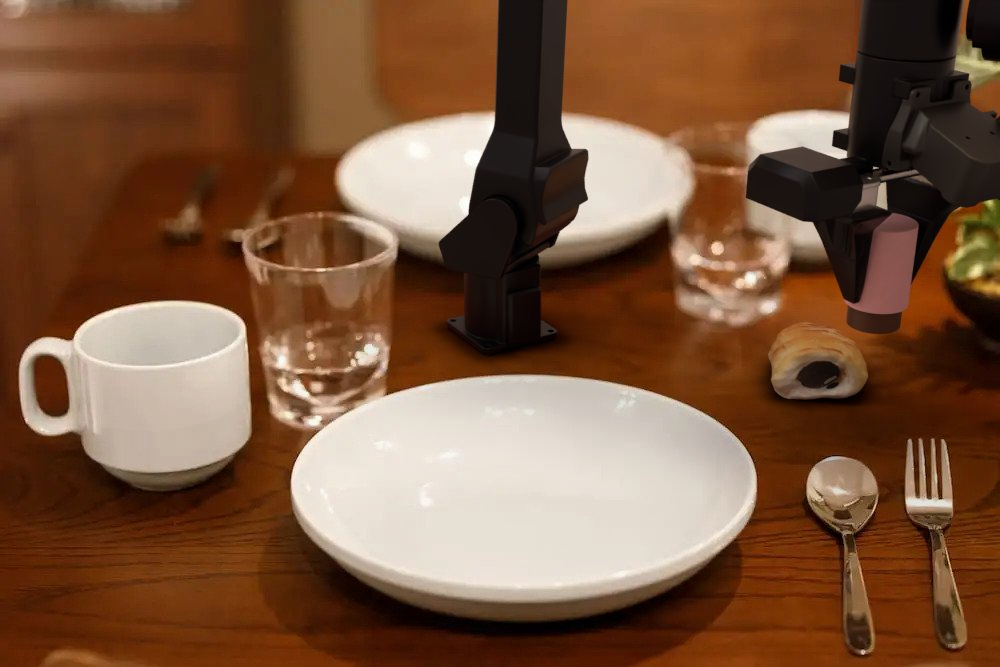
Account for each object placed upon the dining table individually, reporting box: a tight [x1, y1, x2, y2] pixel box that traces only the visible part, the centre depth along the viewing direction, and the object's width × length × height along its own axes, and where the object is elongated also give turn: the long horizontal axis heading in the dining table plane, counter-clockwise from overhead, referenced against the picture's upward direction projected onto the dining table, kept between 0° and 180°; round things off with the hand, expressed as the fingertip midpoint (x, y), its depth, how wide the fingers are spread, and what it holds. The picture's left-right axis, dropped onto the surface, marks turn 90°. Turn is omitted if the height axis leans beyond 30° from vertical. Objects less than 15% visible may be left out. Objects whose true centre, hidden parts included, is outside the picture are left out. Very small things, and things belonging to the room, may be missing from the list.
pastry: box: [767, 321, 869, 401], centre depth 93 cm, size 9×7×4 cm
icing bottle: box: [843, 213, 919, 335], centre depth 83 cm, size 4×4×7 cm
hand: (875, 295), depth 84 cm, fingers closed on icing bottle, 4 cm apart
